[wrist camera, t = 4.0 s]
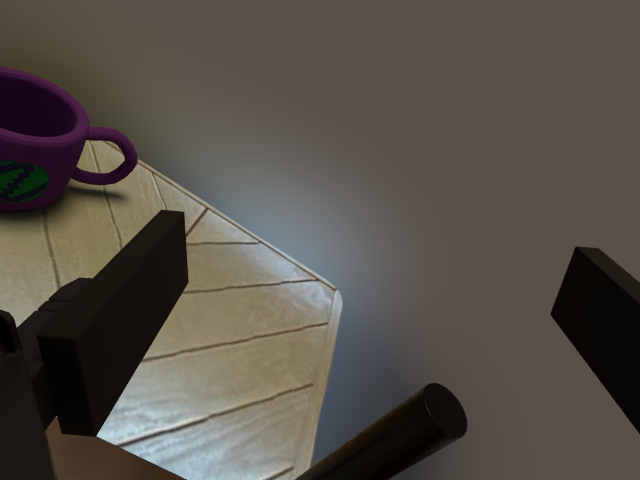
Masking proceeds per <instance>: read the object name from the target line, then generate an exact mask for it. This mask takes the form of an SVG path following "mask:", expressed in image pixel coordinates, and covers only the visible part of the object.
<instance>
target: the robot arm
mask: <svg viewBox="0 0 640 480" xmlns="http://www.w3.org/2000/svg"><path fill="white" fill-rule="evenodd" d="M187 284H188V266H187V250H186V234H185V218H184V212H180V211H169V210H161V211H160V212H159V213H158V214H157V215H156V216H155V217H154V218H153V219H152V220H151V221H150V222H149V223H148V224H147V225H146V226H145V227H144V228H143V229H142V230H141V231H140V232H139V233H138V234H137V235H136V236H135V237H134V238H133V239H132V240H131V241H130V242H129V243H128V244H127V245H126V246H125V247H124V248H123V249H122V250H121V251H120V252H119V253H118V254H117V255H116V256H115V257H114V258H113V259H112V260H111V261H110V262H109V263H108V264H107V265H106V266H105V267H104V268H103V269H102V270H101V271H100V272H99V273H98V274H97V275H96V276H95V277H94V278H93V279H91V278H78V279H76V280H74V281H72V282H70V283H68V284H66V285H64V286H62V287H61V288H60V289H59V290H58V291H56V292H55V293H54V294H53V295H52V296H51V297H50V298H49V301H46V302H45V303H43V304H42V305H41V306H40V307H39V308H38V311H35V312H34V313H33V314H31V315H30V316H29V317H28V318H27V319H26V320H25V321H24V322H23V323H22V324H21V325H20V326H18V327H17V328H16V324H15V321H14V318H13V317H12V315H11V314H10V313H9V312H6V311H3V310H0V480H58V477H57V474H56V470H55V466H54V462H53V458H52V454H51V450H50V446H49V442H48V439H47V435H46V429H47V428H48V427H49V425H50V424H51V423H52V421H53V420H54V418H55V417H56V416H57V418H58V422H59V426H60V430H61V434H67V435H79V436H90V437H96V436H97V434H98V432H99V431H100V429H101V427H102V426H103V424H104V422H105V421H106V419H107V417H108V416H109V414H110V412H111V411H112V409H113V407H114V406H115V404H116V402H117V401H118V399H119V397H120V396H121V394H122V392H123V391H124V389H125V387H126V386H127V384H128V382H129V381H130V379H131V377H132V376H133V374H134V372H135V371H136V369H137V367H138V366H139V364H140V362H141V361H142V359H143V357H144V356H145V354H146V352H147V351H148V349H149V347H150V346H151V344H152V342H153V341H154V339H155V337H156V336H157V334H158V332H159V331H160V329H161V327H162V326H163V324H164V322H165V321H166V319H167V317H168V316H169V314H170V312H171V311H172V309H173V307H174V306H175V304H176V302H177V301H178V299H179V297H180V296H181V294H182V292H183V291H184V289H185V287H186V286H187ZM550 315H551V316H552V317H553V319H554V320H555V321H556V323H557V324H558V325H559V327H560V328H561V329H562V331H563V332H564V333H565V335H566V336H567V337H568V339H569V340H570V342H571V343H572V344H573V346H574V347H575V348H576V350H577V351H578V352H579V354H580V355H581V356H582V358H583V359H584V360H585V362H586V363H587V364H588V365H589V367H590V368H591V370H592V371H593V372H594V373H595V375H596V376H597V378H598V379H599V380H600V382H601V383H602V384H603V386H604V387H605V388H606V390H607V391H608V392H609V394H610V395H611V396H612V398H613V399H614V400H615V402H616V403H617V404H618V406H619V407H620V408H621V410H622V411H623V412H624V413H625V415H626V416H627V418H628V419H629V420H630V422H631V423H632V424H633V426H634V427H635V428H636V430H637V431H638V432H639V434H640V283H639V282H638V281H637V280H636V279H635V278H634V277H632V276H631V275H630V274H629V273H627V272H626V271H625V270H624V269H623V268H622V267H620V266H619V265H618V264H617V263H615V262H614V261H613V260H612V259H611V258H609V257H608V256H607V255H606V254H605V253H604V252H602V251H601V250H600V249H598V248H588V247H577V246H576V247H575V250H574V253H573V255H572V258H571V261H570V263H569V266H568V268H567V271H566V274H565V276H564V279H563V282H562V285H561V287H560V290H559V293H558V295H557V298H556V300H555V303H554V306H553V308H552V311H551V314H550Z"/></svg>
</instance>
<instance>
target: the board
mask: <svg viewBox="0 0 640 480" xmlns="http://www.w3.org/2000/svg"><path fill="white" fill-rule="evenodd" d="M46 435H47V439H48V442H49V446H50V450H51V454H52V458H53V462H54V466H55V470H56V474H57V477H58V480H186V479H184V478H182V477H180V476H178V475H176V474H174V473H172V472H170V471H167V470H165V469H163V468H161V467H159V466H157V465H155V464H153V463H151V462H149V461H147V460H145V459H142V458H140V457H138V456H136V455H134V454H132V453H130V452H128V451H126V450H124V449H122V448H119V447H117V446H115V445H113V444H111V443H109V442H107V441H105V440H103V439H101V438H99V437H97V436H96V437H90V436H79V435H67V434H61V430H60V426H59V422H58V418H57V417H55V418H54V420H53V421H52V423H51V424H50V425H49V427H48V428H47V429H46Z"/></svg>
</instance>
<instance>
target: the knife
mask: <svg viewBox="0 0 640 480" xmlns="http://www.w3.org/2000/svg"><path fill="white" fill-rule="evenodd" d="M466 431H467V418H466V415H465V412H464V410H463V407H462V406H461V404H460V402H459V401H458V399H457V398H456V397H455V396H454V394H453V393H452V392H451V391H449V390H448V389H447V388H446V387H444V386H442V385H440V384H437V383H430V384H428V385H426V386H425V387H424V388H422V389H421V390H420V391H418V392H417V393H415V394H414V395H413V396H411V397H410V398H408V399H407V400H405V401H404V402H403V403H401V404H400V405H398V406H397V407H396V408H394V409H393V410H391V411H390V412H389V413H387V414H386V415H384V416H383V417H382V418H380V419H379V420H377V421H376V422H375V423H373V424H372V425H370V426H369V427H368V428H366V429H365V430H363V431H362V432H361V433H359V434H358V435H356V436H355V437H353V438H352V439H351V440H349V441H348V442H346V443H345V444H344V445H342V446H341V447H339V448H338V449H337V450H335V451H334V452H332V453H331V454H330V455H328V456H327V457H325V458H324V459H323V460H321V461H320V462H319V463H317V464H316V465H314V466H313V467H311V468H310V469H309V470H307V471H306V472H304V473H303V474H302V475H300V476H299V477H297V478H296V479H295V480H388V479H390V478H392V477H394V476H395V475H397V474H399V473H401V472H402V471H404V470H406V469H407V468H409V467H411V466H413V465H414V464H416V463H418V462H420V461H421V460H423V459H425V458H427V457H428V456H430V455H432V454H433V453H435V452H437V451H439V450H440V449H442V448H444V447H445V446H447V445H449V444H451V443H452V442H454V441H456V440H458V439H459V438H461V437H463V436H464V435H465V433H466Z"/></svg>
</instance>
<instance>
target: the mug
mask: <svg viewBox="0 0 640 480" xmlns="http://www.w3.org/2000/svg"><path fill="white" fill-rule="evenodd" d="M86 140H92V141H98V140H104V141H111V142H114V143H115V144H117V145H118V146H119V148H120V149H121V151H122V152H123V155H124V157H125V161H124V162H123V163H122V164H121V165H120V166H119V167H118V168H116V169H115V170H113V171H111V172H109V173H101V174H100V173H92V172H87V171H83V170H81V169H79V168H77V167H76V166H77V164H78V161H79V158H80V156H81V153H82V151H83V148H84V145H85V142H86ZM137 163H138V161H137V153H136V151H135V149H134V146H133V144H132V143H131V142H130V141H129V140H128V138H127V137H126V136H125V135H124V134H122V133H120V132H119V131H117V130H115V129H110V128H104V127H89V119H88V116H87V114H86V112H85V110H84V108H83V107H82V106H81V105H80V103H79V102H78V101H77V100H76V99H75V98H74V97H72V96H71V95H70V94H68V92H66V91H64V90H63V89H61V88H60V87H58V86H57V85H55V84H53V83H51V82H49V81H47V80H44V79H42V78H40V77H38V76H35V75H32V74H29V73H25V72H22V71H20V70H15V69H10V68H5V67H0V209H1V210H7V211H28V210H35V209H39V208H42V207H44V206H47V205H49V204H50V203H52V202H53V201H54V200H56V199H57V198H58V197H60V195H61V194H62V192H63V191H64V189H65V188H66V186H67V184H68V183H69V181H70V179H71V178H72V179H74V180H76V181H78V182H82V183H86V184H92V185H108V184H114V183H117V182H119V181H120V180H122V179H124V178H125V177H126V176H128V175H129V174H130V173H131V172H132V171H133V169H134V168H135V166H136V165H137Z"/></svg>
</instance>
